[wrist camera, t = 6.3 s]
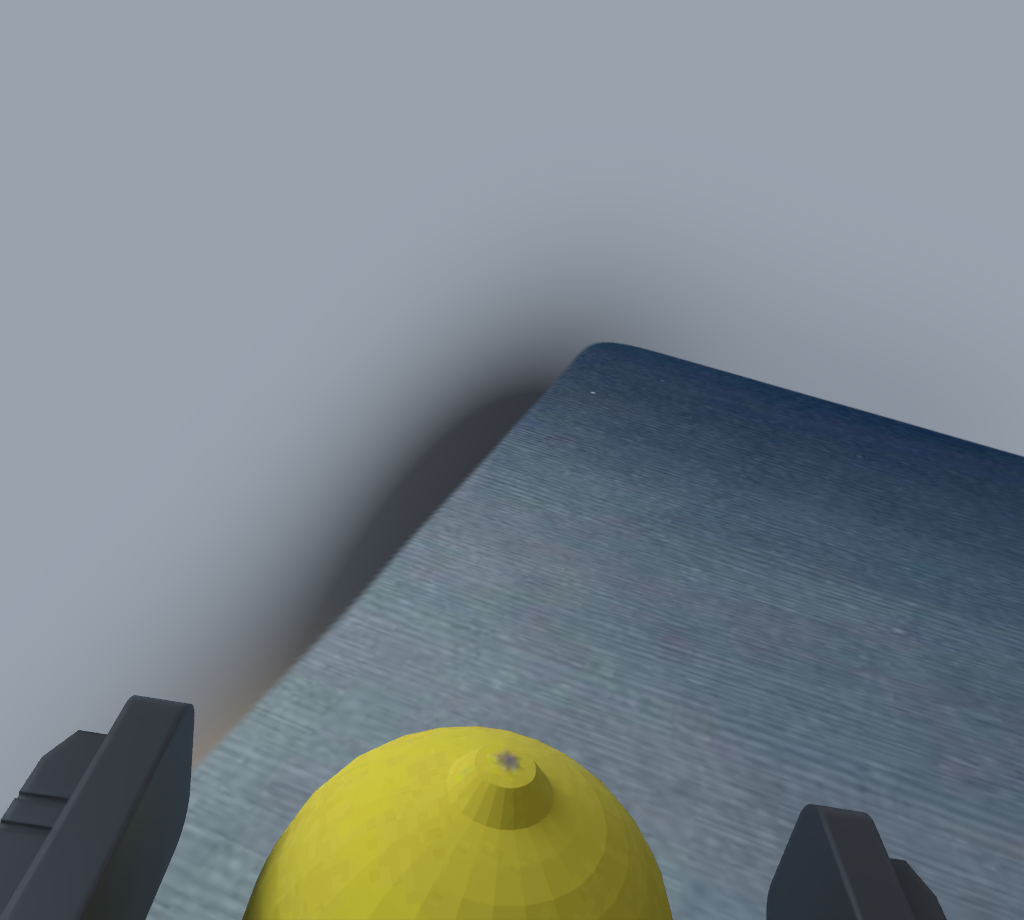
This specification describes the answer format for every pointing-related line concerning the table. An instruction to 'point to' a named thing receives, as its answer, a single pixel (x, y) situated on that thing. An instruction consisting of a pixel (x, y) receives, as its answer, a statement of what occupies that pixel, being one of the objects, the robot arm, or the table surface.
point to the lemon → (461, 839)
